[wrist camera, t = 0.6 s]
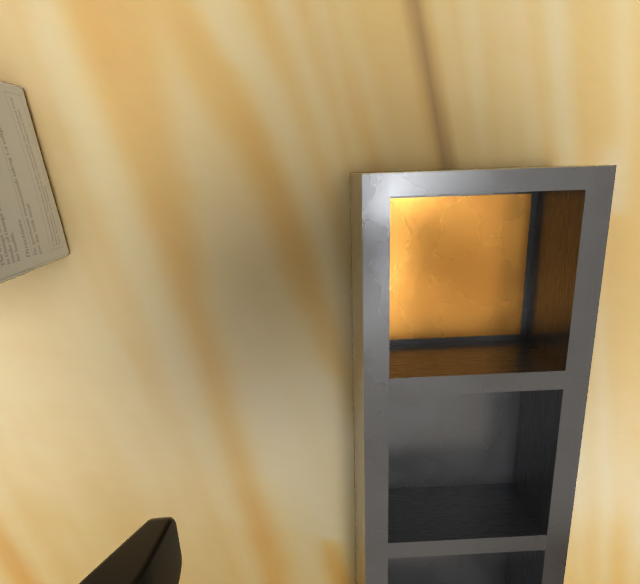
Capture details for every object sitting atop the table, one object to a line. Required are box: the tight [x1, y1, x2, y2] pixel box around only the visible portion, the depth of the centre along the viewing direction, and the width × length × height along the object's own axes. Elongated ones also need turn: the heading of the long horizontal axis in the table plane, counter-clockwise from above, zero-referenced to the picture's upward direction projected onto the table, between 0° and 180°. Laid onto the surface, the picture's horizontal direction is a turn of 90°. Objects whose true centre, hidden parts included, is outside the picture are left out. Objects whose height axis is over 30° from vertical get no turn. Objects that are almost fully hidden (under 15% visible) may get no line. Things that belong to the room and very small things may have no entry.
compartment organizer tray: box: [350, 165, 616, 584], centre depth 22 cm, size 24×9×4 cm, turn 2°
